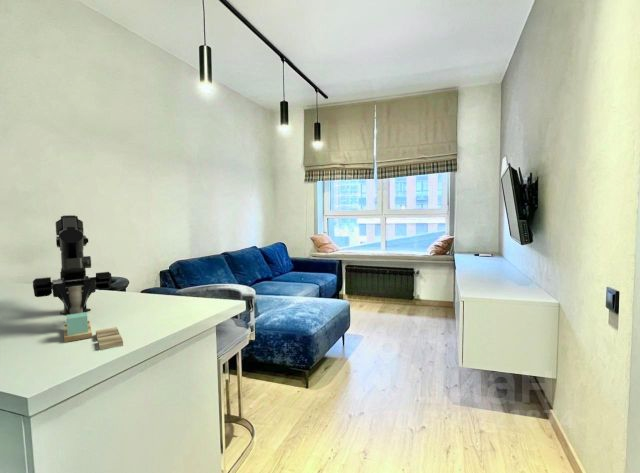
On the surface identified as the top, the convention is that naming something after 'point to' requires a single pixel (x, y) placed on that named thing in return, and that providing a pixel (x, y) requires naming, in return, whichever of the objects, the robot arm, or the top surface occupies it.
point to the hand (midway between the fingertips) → (76, 307)
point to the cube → (77, 323)
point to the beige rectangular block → (109, 338)
